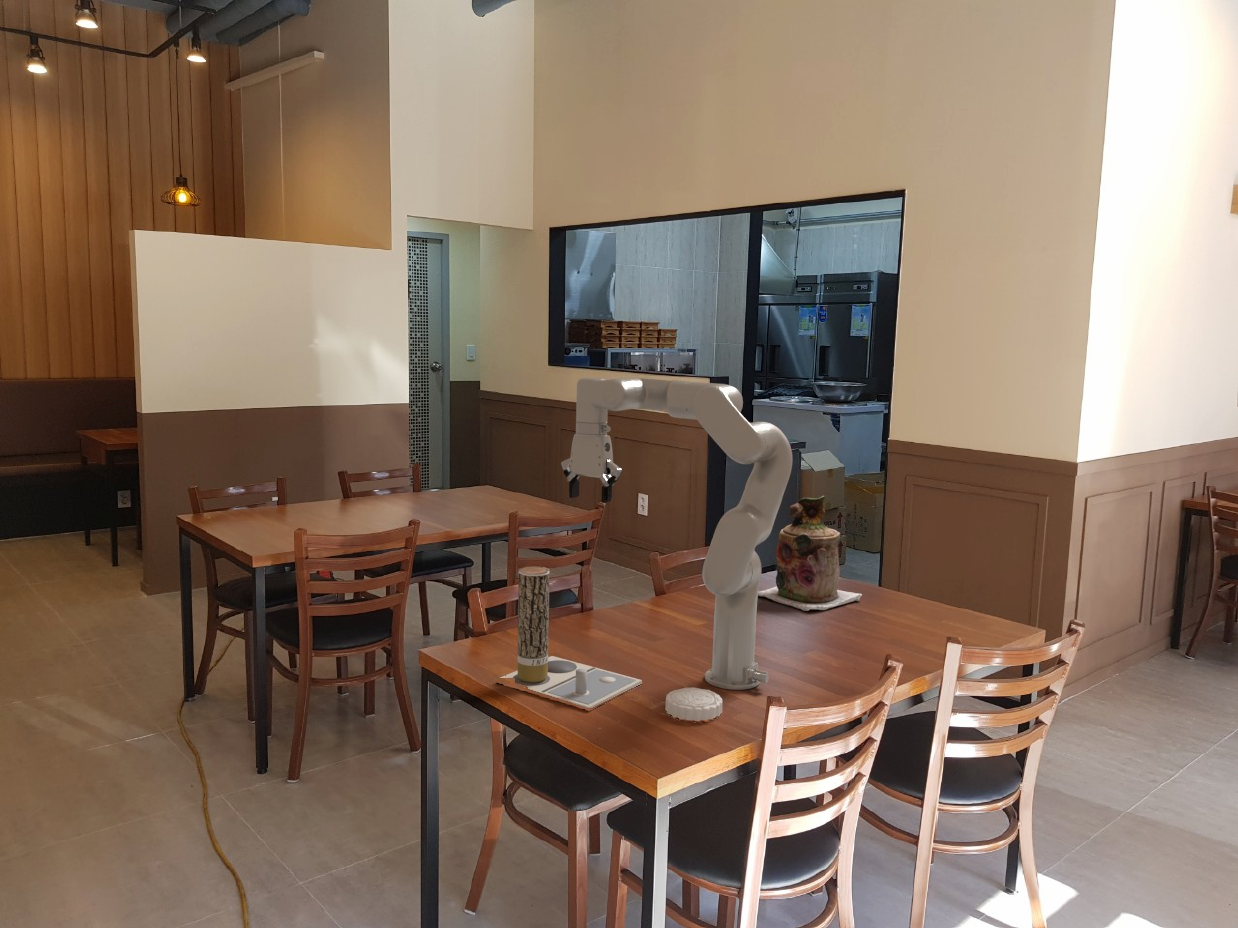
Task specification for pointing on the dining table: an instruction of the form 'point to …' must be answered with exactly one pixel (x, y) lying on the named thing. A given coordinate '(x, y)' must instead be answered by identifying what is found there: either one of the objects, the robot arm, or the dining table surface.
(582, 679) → the board
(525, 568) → the paper tube
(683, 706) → the mooncake
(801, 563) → the cookie jar
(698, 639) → the dining table surface
